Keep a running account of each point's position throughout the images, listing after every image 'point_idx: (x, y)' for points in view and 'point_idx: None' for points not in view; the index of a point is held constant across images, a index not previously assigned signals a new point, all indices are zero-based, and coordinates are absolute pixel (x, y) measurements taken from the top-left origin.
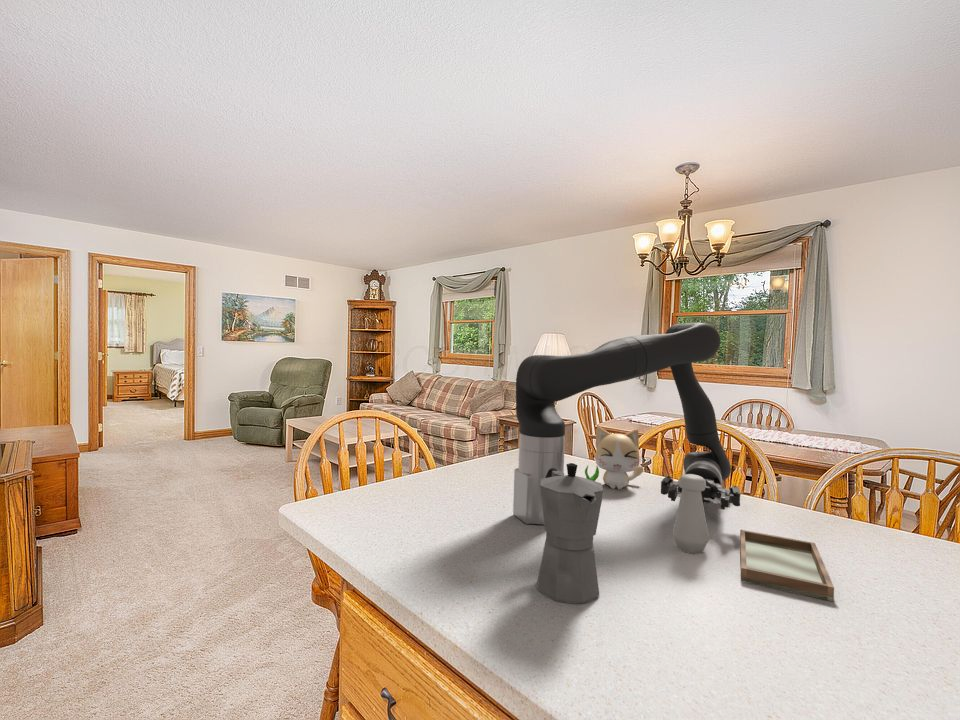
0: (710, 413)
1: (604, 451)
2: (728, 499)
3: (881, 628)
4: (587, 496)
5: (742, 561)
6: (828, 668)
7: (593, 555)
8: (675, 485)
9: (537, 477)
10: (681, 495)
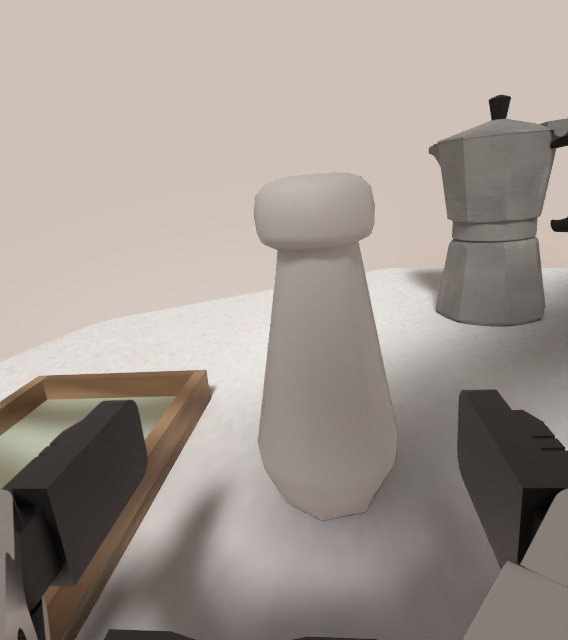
0: None
1: None
2: (70, 429)
3: (33, 376)
4: (492, 167)
5: (190, 389)
6: (178, 321)
7: (448, 251)
8: (555, 502)
9: None
10: (361, 273)
